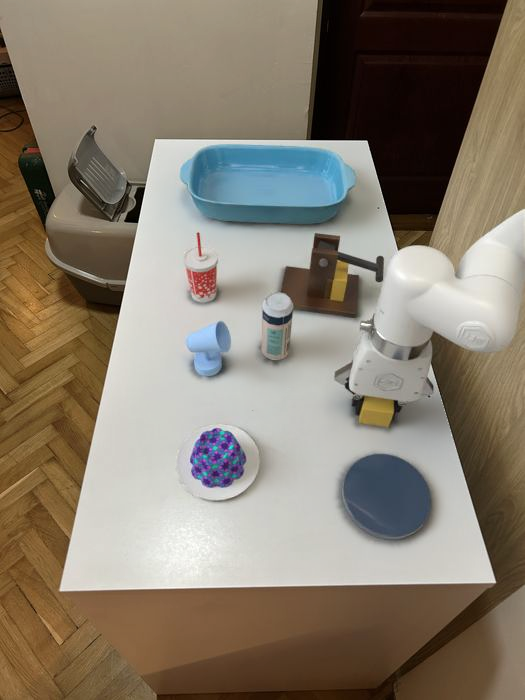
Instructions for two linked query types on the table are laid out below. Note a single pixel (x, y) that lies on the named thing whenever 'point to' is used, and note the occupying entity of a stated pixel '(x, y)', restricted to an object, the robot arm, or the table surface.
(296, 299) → the slicer
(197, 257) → the beverage cup
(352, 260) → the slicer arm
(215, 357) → the spotlight
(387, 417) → the butter pat
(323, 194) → the casserole dish
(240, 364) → the table surface
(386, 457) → the plate
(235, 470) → the pudding
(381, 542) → the table surface
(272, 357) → the supplement bottle
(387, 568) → the table surface
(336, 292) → the butter
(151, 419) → the table surface
